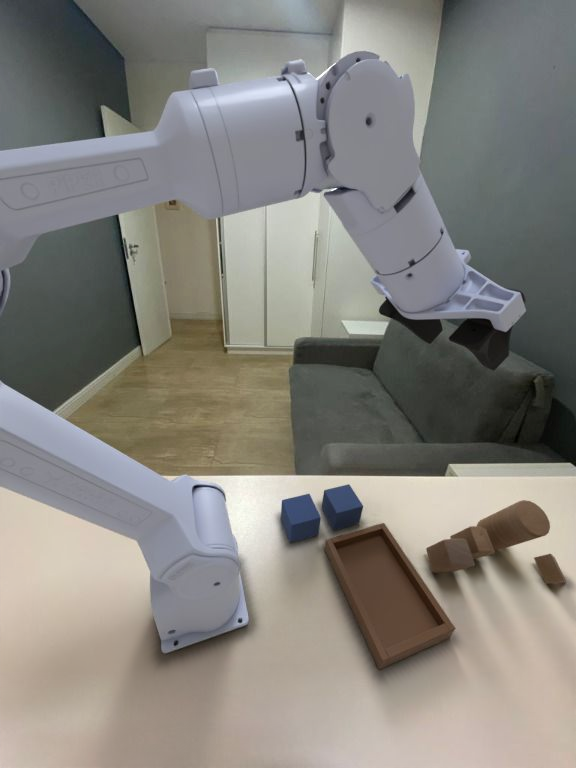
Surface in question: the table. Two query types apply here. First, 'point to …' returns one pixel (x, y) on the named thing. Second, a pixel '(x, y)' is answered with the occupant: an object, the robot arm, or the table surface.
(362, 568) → the frame
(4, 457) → the robot arm
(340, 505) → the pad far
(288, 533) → the blue cube
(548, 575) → the wooden block set
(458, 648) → the table surface
